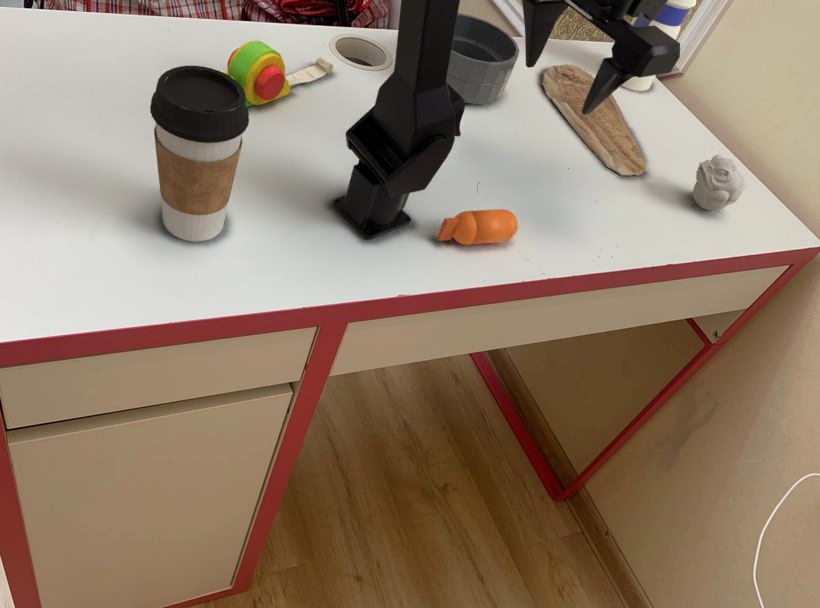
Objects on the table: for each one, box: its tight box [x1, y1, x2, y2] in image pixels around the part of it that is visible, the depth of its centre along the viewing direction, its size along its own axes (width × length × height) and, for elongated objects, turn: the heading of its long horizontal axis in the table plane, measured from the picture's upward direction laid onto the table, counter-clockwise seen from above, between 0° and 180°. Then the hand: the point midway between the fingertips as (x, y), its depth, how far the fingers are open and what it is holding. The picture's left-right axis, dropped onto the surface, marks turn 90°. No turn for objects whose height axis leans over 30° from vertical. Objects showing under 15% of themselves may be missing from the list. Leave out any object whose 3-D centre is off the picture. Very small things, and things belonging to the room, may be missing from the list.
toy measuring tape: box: [222, 40, 334, 107], centre depth 86 cm, size 6×19×7 cm, turn 138°
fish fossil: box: [541, 63, 647, 177], centre depth 102 cm, size 26×10×1 cm, turn 18°
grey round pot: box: [447, 12, 520, 105], centre depth 98 cm, size 13×13×6 cm
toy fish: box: [436, 208, 519, 246], centre depth 77 cm, size 9×4×4 cm, turn 109°
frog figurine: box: [692, 154, 747, 211], centre depth 91 cm, size 6×7×7 cm
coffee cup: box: [149, 65, 250, 243], centre depth 65 cm, size 8×8×15 cm
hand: (556, 89), depth 78 cm, fingers open, 9 cm apart
